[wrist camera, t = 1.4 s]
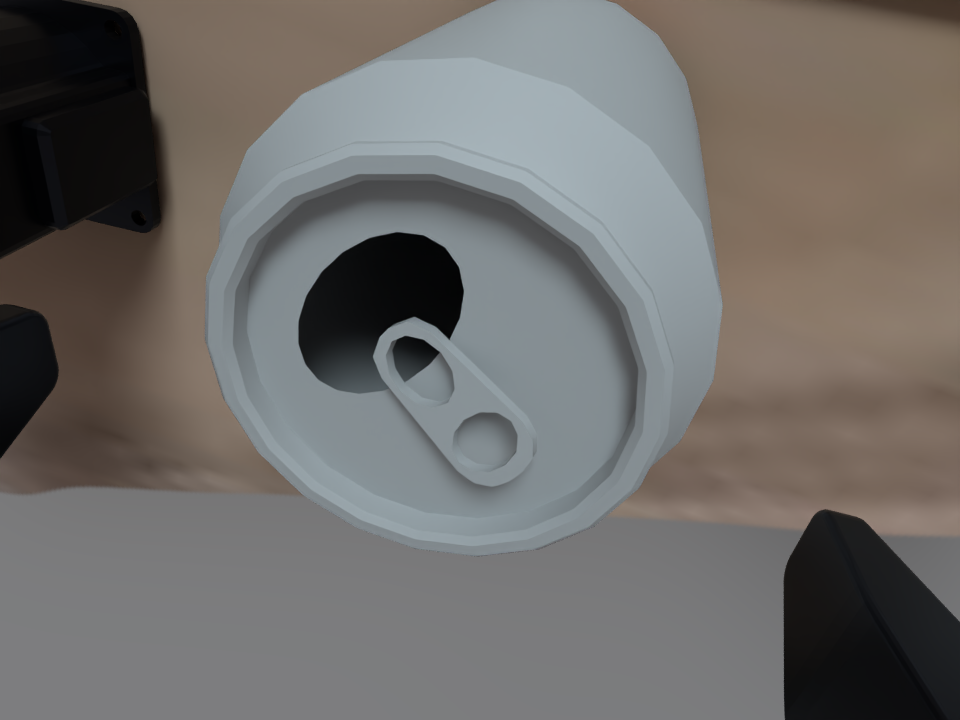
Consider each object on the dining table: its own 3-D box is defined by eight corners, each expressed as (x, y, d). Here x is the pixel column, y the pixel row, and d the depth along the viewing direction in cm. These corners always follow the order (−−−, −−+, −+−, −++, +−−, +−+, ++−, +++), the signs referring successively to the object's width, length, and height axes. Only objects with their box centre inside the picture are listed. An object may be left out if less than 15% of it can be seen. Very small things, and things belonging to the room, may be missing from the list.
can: (546, -93, 16) (352, -105, 6) (761, 141, 18) (879, 429, 8) (363, 145, 20) (66, 369, 10) (552, 318, 22) (454, 660, 12)
